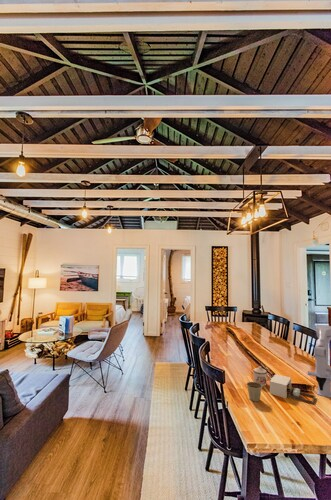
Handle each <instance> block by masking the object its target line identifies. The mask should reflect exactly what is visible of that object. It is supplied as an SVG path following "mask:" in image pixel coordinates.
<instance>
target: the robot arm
mask: <svg viewBox="0 0 331 500" xmlns="http://www.w3.org/2000/svg"><path fill="white" fill-rule="evenodd" d="M315 332H316V333H315V334H316V337H317V339H316V345H315V347H314V348H313V355H314V358H315V370H314V371H310V370H308V371H307V376H312V377H315V380H316V383H317V392H316V395H319V396H323V397H326V398H331V366H330V365H329V343H330V341H331V325H324V324H323V325H322V324H318V323H317V324H316V325H315Z"/></svg>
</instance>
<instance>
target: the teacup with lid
mask: <svg viewBox="0 0 331 500" xmlns="http://www.w3.org/2000/svg"><path fill="white" fill-rule="evenodd" d="M252 371H253V382H257V383H260V384H261V385H262V387H265V386H267V383H268V382H267V381H270V380H271V379H272V375H271V373H270V372H269V373H268V372H267V370H266V369H264V368H262V366H260V365H259V366H258V367H256V368H253V369H252ZM267 375H268V378H267Z"/></svg>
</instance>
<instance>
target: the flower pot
mask: <svg viewBox="0 0 331 500" xmlns="http://www.w3.org/2000/svg"><path fill="white" fill-rule="evenodd" d="M246 386H247V391H248V398H249V400H250V401H253V402H259V401H260V400H261V393H262V388H263V386H262V385H261V384H260V383H257V382H254V381H248V382H246Z"/></svg>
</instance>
